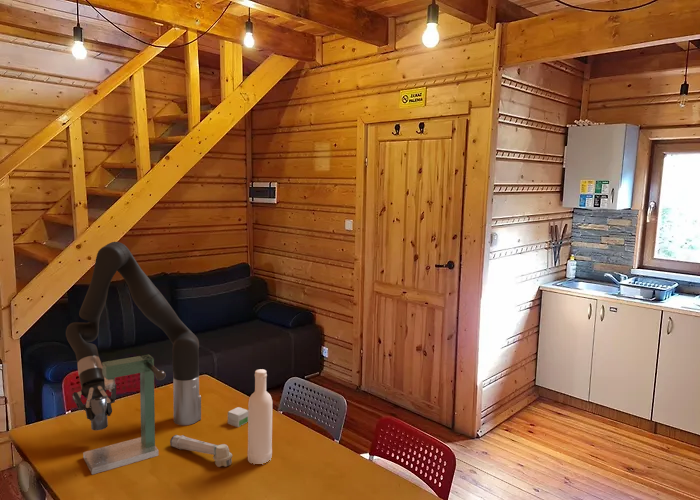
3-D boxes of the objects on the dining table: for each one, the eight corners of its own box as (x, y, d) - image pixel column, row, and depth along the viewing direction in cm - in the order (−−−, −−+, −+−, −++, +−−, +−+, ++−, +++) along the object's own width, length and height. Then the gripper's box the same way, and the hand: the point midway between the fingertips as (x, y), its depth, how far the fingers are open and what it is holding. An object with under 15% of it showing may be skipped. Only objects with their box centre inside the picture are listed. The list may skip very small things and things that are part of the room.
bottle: (276, 455, 171) (277, 368, 167) (264, 467, 163) (265, 376, 160) (255, 451, 173) (255, 365, 170) (242, 462, 166) (243, 373, 163)
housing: (105, 422, 177) (104, 393, 176) (109, 427, 173) (108, 398, 172) (89, 426, 174) (88, 396, 172) (93, 431, 170) (91, 401, 169)
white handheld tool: (179, 431, 178) (234, 441, 165) (181, 450, 178) (236, 461, 166) (167, 438, 173) (223, 448, 161) (169, 457, 173) (225, 468, 161)
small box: (238, 427, 190) (238, 415, 189) (227, 423, 193) (227, 411, 192) (248, 422, 195) (249, 410, 194) (237, 418, 198) (237, 406, 197)
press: (147, 440, 178) (145, 351, 174) (167, 467, 162) (166, 369, 158) (83, 458, 165) (80, 362, 162) (99, 488, 149) (96, 382, 146)
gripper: (68, 371, 172) (77, 418, 165) (114, 362, 181) (125, 407, 173) (66, 381, 177) (75, 427, 169) (111, 373, 186) (121, 416, 178)
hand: (100, 417), depth 171 cm, fingers closed on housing, 5 cm apart
